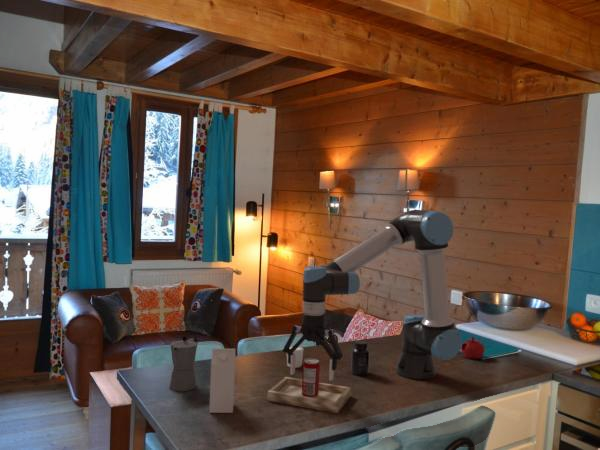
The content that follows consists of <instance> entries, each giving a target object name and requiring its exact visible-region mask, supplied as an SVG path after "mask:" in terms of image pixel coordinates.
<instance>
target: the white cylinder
mask: <svg viewBox="0 0 600 450" xmlns="http://www.w3.org/2000/svg"><path fill="white" fill-rule="evenodd" d="M293 346H294V345H293ZM293 346H292V345H291V346H290V348H289V349H291V348H292V347H293ZM293 353H296V359H295V369H297V368H301V367H302V365H303V355H304V347H302V346H299V347H298V348H297V349H296V350H295V351H294V352H293ZM286 366H287V367H289V368H290V364H288V354H287V353H286Z"/></svg>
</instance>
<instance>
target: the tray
mask: <svg viewBox="0 0 600 450" xmlns="http://www.w3.org/2000/svg"><path fill="white" fill-rule="evenodd" d="M266 394H267V396H266V397H267V399H266V400H267V401H269V402H273V403H274V402H275V403H278V404H279V403H280V404H284V405H290V406H296V407H300V408H306V409H312V410H316V411H317V410H318V411H323V412H328V413H332V414H338V413H340V411H341V410H342V408H344V406H345V404H347V402H348V400H349V399H350V398H351V395H352V387H350V386H349V387H348V386H344V385H343V386H342V385H336V384H331V383H326V382H325V383H324V382H320V381H319V391H318V395H317V397H315V398H310V397H304V396H303V395H302V378H301V379H300V378H295V377H289V376H284V377H283V378H282V379H281V380H279V382H277V383H276V384H275V385H273V386H272V387H271V388H270V389H269V390H268V391H267V393H266Z"/></svg>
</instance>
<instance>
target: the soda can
mask: <svg viewBox="0 0 600 450" xmlns="http://www.w3.org/2000/svg"><path fill="white" fill-rule="evenodd" d="M320 366H321V365H320V361H319V360H318V359H316V358H304V360H303V362H302V375H301V376H302V378H301V379H302V395H303V396H304V397H310V398H315V397H317V395H318V391H319V382H320V370H321V369H320Z"/></svg>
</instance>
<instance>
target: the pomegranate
mask: <svg viewBox="0 0 600 450" xmlns="http://www.w3.org/2000/svg"><path fill="white" fill-rule="evenodd" d="M460 351H461V353H462V355H463V357H464V358H467V359H470V360H479V359H480V358H482V357H483V356H484V354H485V346H484V344H483V343H482V342H481V339H475V336H471V338H470V337H469V338H467V339H465V340H464V342H462V346H461V349H460Z"/></svg>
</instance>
